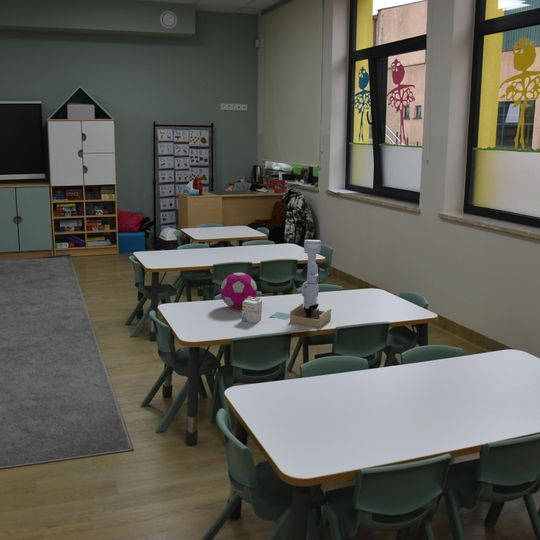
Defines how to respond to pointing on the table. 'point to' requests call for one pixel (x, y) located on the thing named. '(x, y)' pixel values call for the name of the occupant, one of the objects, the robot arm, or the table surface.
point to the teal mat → (281, 315)
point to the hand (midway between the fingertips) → (310, 317)
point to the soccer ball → (238, 289)
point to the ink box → (252, 310)
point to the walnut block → (314, 314)
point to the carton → (298, 318)
